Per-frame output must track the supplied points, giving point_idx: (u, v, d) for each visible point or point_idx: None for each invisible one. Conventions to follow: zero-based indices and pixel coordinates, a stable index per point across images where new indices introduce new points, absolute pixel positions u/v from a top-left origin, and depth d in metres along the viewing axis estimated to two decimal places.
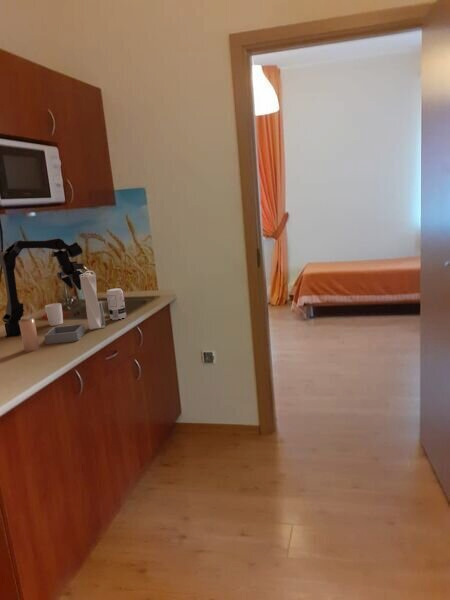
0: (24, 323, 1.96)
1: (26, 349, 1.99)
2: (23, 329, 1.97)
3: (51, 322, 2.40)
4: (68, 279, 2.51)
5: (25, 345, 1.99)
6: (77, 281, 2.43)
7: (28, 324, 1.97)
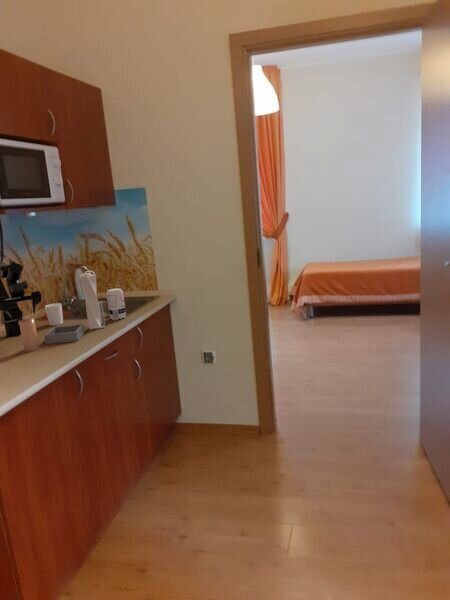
0: (24, 323, 1.96)
1: (26, 349, 1.99)
2: (23, 329, 1.97)
3: (51, 322, 2.40)
4: (32, 303, 2.10)
5: (25, 345, 1.99)
6: (6, 309, 2.05)
7: (28, 324, 1.97)
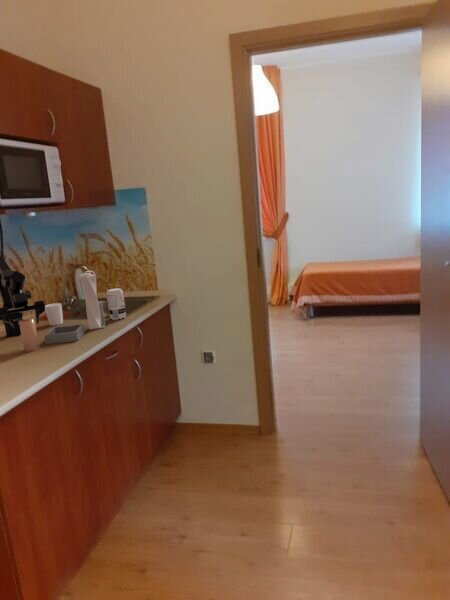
0: (24, 323, 1.96)
1: (26, 349, 1.99)
2: (23, 329, 1.97)
3: (51, 322, 2.40)
4: (35, 313, 2.07)
5: (25, 345, 1.99)
6: (9, 319, 2.01)
7: (28, 324, 1.97)
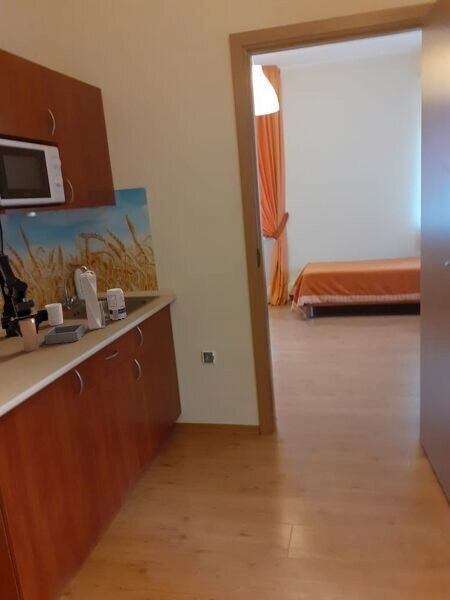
0: (24, 323, 1.96)
1: (26, 349, 1.99)
2: (23, 329, 1.97)
3: (51, 322, 2.40)
4: (35, 323, 2.03)
5: (25, 345, 1.99)
6: (15, 327, 1.99)
7: (28, 324, 1.97)
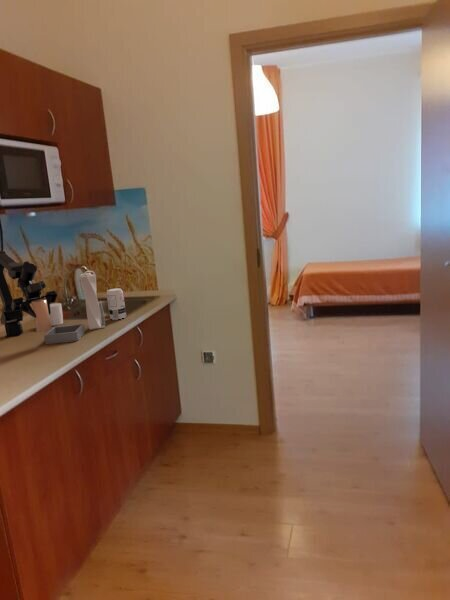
0: (38, 303, 1.99)
1: (40, 329, 2.02)
2: (37, 309, 2.00)
3: (51, 322, 2.40)
4: None
5: (39, 325, 2.01)
6: (27, 309, 2.01)
7: (42, 304, 2.00)
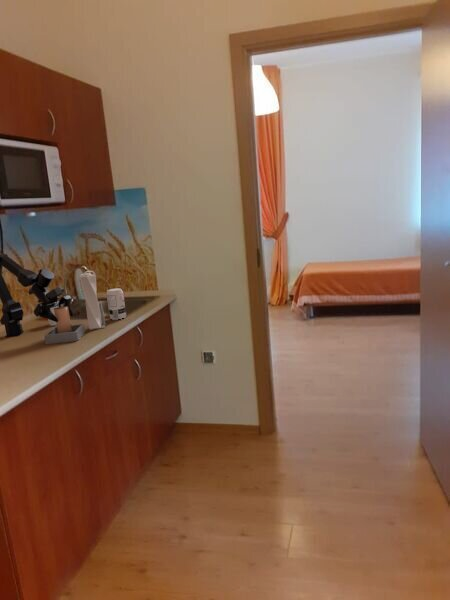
0: (63, 310, 2.10)
1: None
2: (62, 316, 2.10)
3: (51, 322, 2.40)
4: None
5: (63, 331, 2.11)
6: (48, 314, 2.08)
7: (66, 311, 2.11)
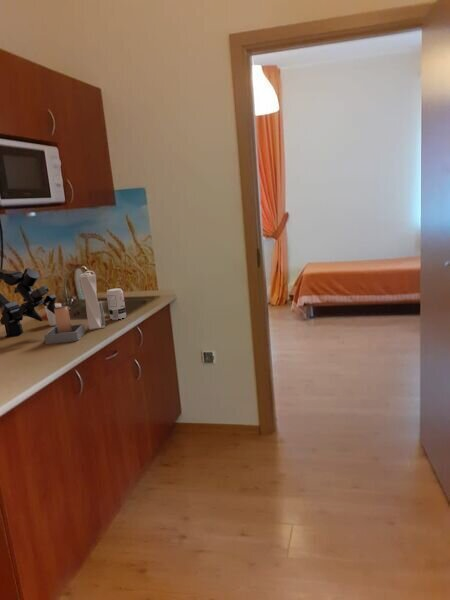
0: (63, 310, 2.10)
1: None
2: (62, 316, 2.10)
3: (51, 322, 2.40)
4: (50, 306, 2.21)
5: (63, 331, 2.11)
6: (32, 313, 2.12)
7: (66, 311, 2.11)
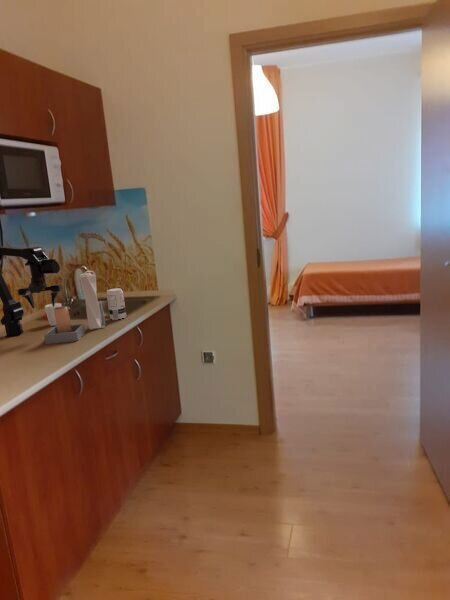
0: (63, 310, 2.10)
1: None
2: (62, 316, 2.10)
3: (51, 322, 2.40)
4: None
5: (63, 331, 2.11)
6: None
7: (66, 311, 2.11)
